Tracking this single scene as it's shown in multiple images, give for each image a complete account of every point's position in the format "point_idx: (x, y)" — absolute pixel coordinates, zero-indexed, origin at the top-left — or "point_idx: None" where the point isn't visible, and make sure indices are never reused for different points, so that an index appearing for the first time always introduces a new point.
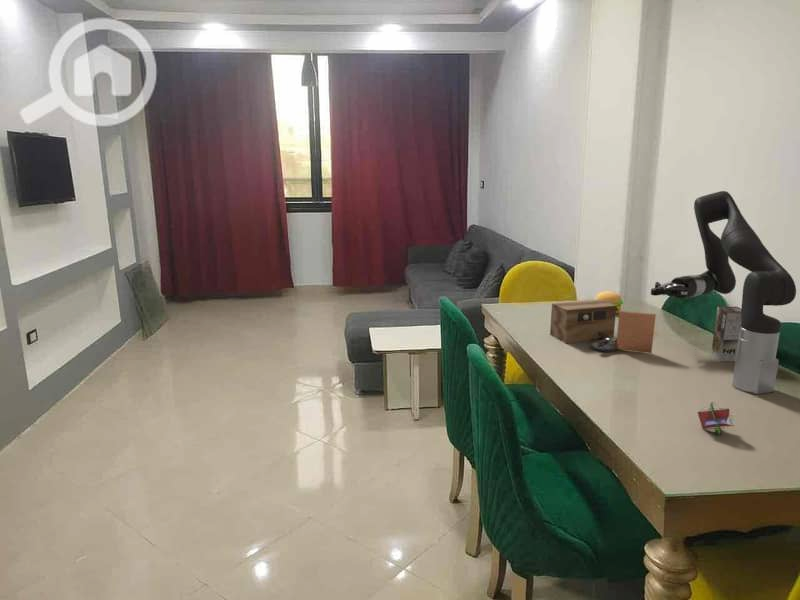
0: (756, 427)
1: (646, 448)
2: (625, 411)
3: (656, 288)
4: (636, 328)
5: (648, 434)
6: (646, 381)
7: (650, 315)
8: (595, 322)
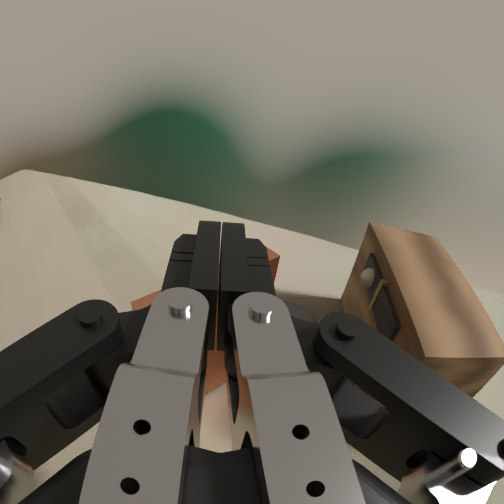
0: None
1: (39, 181)
2: (70, 199)
3: (222, 243)
4: None
5: (41, 190)
6: (76, 263)
7: (154, 296)
8: (375, 327)
